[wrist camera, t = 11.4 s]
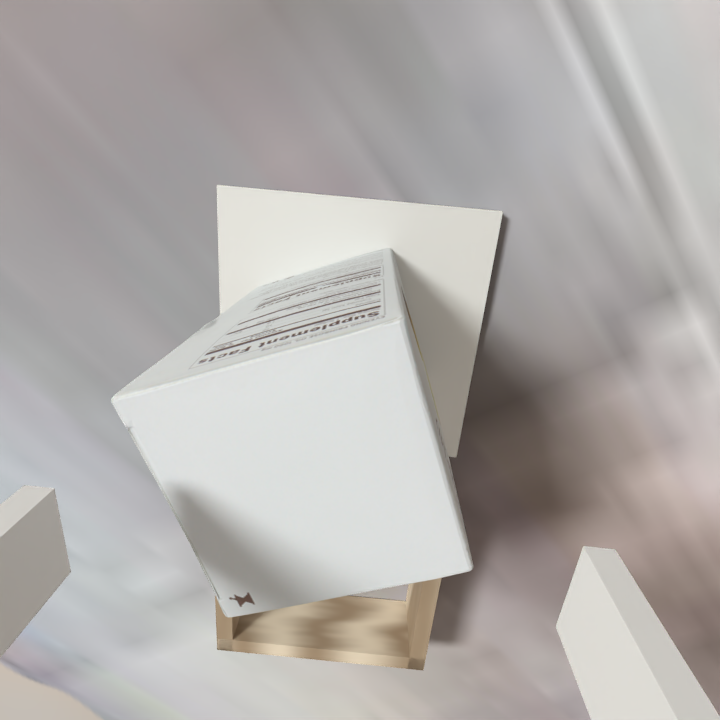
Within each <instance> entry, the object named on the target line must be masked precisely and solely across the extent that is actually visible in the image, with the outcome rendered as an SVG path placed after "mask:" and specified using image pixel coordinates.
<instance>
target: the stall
mask: <svg viewBox="0 0 720 720" xmlns="http://www.w3.org/2000/svg"><path fill="white" fill-rule="evenodd" d="M440 583H441V578H438V579H434V580H428V581H422V582H417V583H411V584H409V586H408V592H407V598H406V601H397V600H387V599H377V598H367V597H356V596H343V597H337V598H332V599H327V600H322V601H317V602H311V603H306V604H301V605H296V606H291V607H286V608H281V609H275V610H270V611H264V612H259V613H253V614H248V615H243V616H236V617H229V618H228V617H226V616H225V615H224V613H223V611H222V609H221V607H220V604H219V602H218V600H217V597H216V595H215V602H216V628H217V650H226V651H236V652H246V653H256V654H266V655H276V656H286V657H296V658H306V659H316V660H326V661H336V662H346V663H356V664H366V665H376V666H386V667H396V668H406V669H416V670H423V669H424V664H425V659H426V654H427V649H428V643H429V638H430V633H431V628H432V623H433V618H434V613H435V608H436V603H437V598H438V593H439V588H440Z"/></svg>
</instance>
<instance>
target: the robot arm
mask: <svg viewBox="0 0 720 720" xmlns="http://www.w3.org/2000/svg"><path fill="white" fill-rule="evenodd" d="M70 572H71V570H70V565H69V560H68V555H67V550H66V545H65V540H64V535H63V530H62V525H61V520H60V515H59V510H58V505H57V500H56V494H55V489H54V488H46V487H37V486H28V485H24V486H23V487H21V488H20V489H19V490H18V491H17V492H15V493H14V494H13V495H12V496H10V497H9V498H8V499H7V500H6V501H4V502H3V503H2V504H1V505H0V658H1V656H2V655H3V654H4V653H5V652H6V650H7V649H8V648H9V647H10V645H11V644H12V643H13V642H14V641H15V639H16V638H17V637H18V636H19V634H20V633H21V632H22V631H23V630H24V628H25V627H26V626H27V625H28V623H29V622H30V621H31V620H32V619H33V617H34V616H35V615H36V614H37V613H38V611H39V610H40V609H41V608H42V606H43V605H44V604H45V603H46V602H47V600H48V599H49V598H50V597H51V595H52V594H53V593H54V592H55V591H56V589H57V588H58V587H59V586H60V584H61V583H62V582H63V581H64V580H65V578H66V577H67V576H68V575H69V573H70ZM556 629H557V631H558V634H559V636H560V639H561V642H562V644H563V647H564V650H565V652H566V655H567V657H568V660H569V663H570V665H571V668H572V671H573V673H574V676H575V678H576V681H577V684H578V686H579V689H580V692H581V694H582V697H583V699H584V702H585V705H586V707H587V710H588V713H589V715H590V718H591V720H720V716H719V715H718V713H717V712H716V710H715V708H714V707H713V705H712V704H711V702H710V700H709V699H708V697H707V696H706V694H705V692H704V691H703V689H702V687H701V686H700V684H699V683H698V681H697V679H696V678H695V676H694V675H693V673H692V671H691V670H690V668H689V667H688V665H687V663H686V662H685V660H684V659H683V657H682V655H681V654H680V652H679V651H678V649H677V647H676V646H675V644H674V643H673V641H672V639H671V638H670V636H669V635H668V633H667V631H666V630H665V628H664V627H663V625H662V623H661V622H660V620H659V619H658V617H657V615H656V614H655V612H654V611H653V609H652V607H651V606H650V604H649V603H648V601H647V599H646V598H645V596H644V595H643V593H642V591H641V590H640V588H639V587H638V585H637V583H636V582H635V580H634V579H633V577H632V575H631V574H630V572H629V571H628V569H627V567H626V566H625V564H624V563H623V561H622V559H621V558H620V556H619V555H618V553H617V551H616V550H615V549H606V548H597V547H588V546H583V549H582V552H581V555H580V558H579V561H578V563H577V566H576V569H575V572H574V575H573V578H572V581H571V584H570V587H569V590H568V592H567V595H566V598H565V601H564V604H563V607H562V610H561V613H560V616H559V619H558V622H557V624H556Z"/></svg>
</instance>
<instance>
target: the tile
mask: <svg viewBox="0 0 720 720" xmlns="http://www.w3.org/2000/svg"><path fill="white" fill-rule="evenodd" d="M217 213H218V252H219V291H220V315H221V314H222V313H224V312H225V311H226V310H227V309H229V308H230V307H231V306H233V305H234V304H235V303H237V302H238V301H239V300H241V299H242V298H243V297H245V296H246V295H247V294H248V293H250V292H251V291H252V290H254V289H255V288H257V287H259V286H262V285H265V284H268V283H272V282H275V281H278V280H281V279H285V278H288V277H291V276H295V275H298V274H301V273H304V272H307V271H310V270H314V269H317V268H320V267H323V266H326V265H330V264H333V263H336V262H339V261H343V260H346V259H349V258H353V257H356V256H359V255H363V254H366V253H370V252H373V251H377V250H381V249H385V248H391V249H392V251H393V253H394V256H395V260H396V263H397V266H398V270H399V274H400V277H401V281H402V284H403V288H404V291H405V295H406V299H407V302H408V306H409V310H410V314H411V318H412V321H413V325H414V329H415V332H416V336H417V339H418V343H419V346H420V350H421V353H422V357H423V360H424V364H425V367H426V371H427V375H428V379H429V382H430V386H431V390H432V393H433V397H434V401H435V405H436V409H437V412H438V416H439V420H440V424H441V428H442V432H443V436H444V440H445V444H446V448H447V452H448V456H449V457H457V451H458V446H459V441H460V436H461V430H462V425H463V420H464V414H465V409H466V404H467V399H468V393H469V388H470V383H471V378H472V372H473V367H474V362H475V357H476V351H477V346H478V341H479V335H480V330H481V325H482V320H483V314H484V309H485V304H486V299H487V293H488V288H489V283H490V278H491V272H492V267H493V262H494V256H495V251H496V246H497V241H498V235H499V230H500V225H501V220H502V214H503V211H497V210H486V209H475V208H464V207H453V206H443V205H432V204H421V203H410V202H399V201H388V200H378V199H367V198H356V197H345V196H334V195H324V194H313V193H302V192H291V191H280V190H269V189H259V188H248V187H237V186H226V185H217Z"/></svg>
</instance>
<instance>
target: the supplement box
mask: <svg viewBox="0 0 720 720" xmlns="http://www.w3.org/2000/svg"><path fill="white" fill-rule="evenodd" d="M111 402H112V404H113V406H114V408H115V409H116V411H117V413H118V415H119V417H120V418H121V420H122V422H123V424H124V425H125V426H126V428H127V429H128V431H129V433H130V435H131V437H132V439H133V441H134V442H135V444H136V446H137V448H138V449H139V451H140V453H141V455H142V456H143V458H144V460H145V462H146V464H147V465H148V467H149V469H150V471H151V472H152V474H153V476H154V477H155V479H156V481H157V483H158V485H159V487H160V488H161V490H162V492H163V494H164V496H165V498H166V500H167V502H168V503H169V505H170V507H171V509H172V511H173V513H174V514H175V516H176V518H177V520H178V522H179V524H180V526H181V527H182V529H183V531H184V533H185V535H186V537H187V539H188V541H189V542H190V544H191V546H192V548H193V550H194V552H195V554H196V556H197V558H198V560H199V563H200V565H201V567H202V569H203V571H204V573H205V575H206V577H207V579H208V581H209V583H210V585H211V587H212V589H213V591H214V593H215V595H216V597H217V600H218V602H219V604H220V607H221V609H222V611H223V613H224V615H225V616H226V617H228V618H229V617H236V616H243V615H248V614H253V613H259V612H264V611H270V610H275V609H281V608H286V607H291V606H296V605H301V604H306V603H311V602H317V601H322V600H327V599H332V598H337V597H343V596H348V595H353V594H358V593H363V592H369V591H374V590H379V589H384V588H390V587H395V586H400V585H406V584H411V583H417V582H422V581H428V580H434V579H438V578H443V577H447V576H451V575H456V574H460V573H465V572H469V571H471V570H472V569H473V567H474V566H473V562H472V557H471V553H470V548H469V544H468V539H467V535H466V530H465V525H464V521H463V517H462V512H461V508H460V504H459V499H458V495H457V491H456V486H455V482H454V478H453V473H452V469H451V465H450V460H449V456H448V452H447V448H446V444H445V440H444V436H443V432H442V428H441V424H440V420H439V416H438V412H437V409H436V405H435V401H434V397H433V393H432V390H431V386H430V382H429V379H428V375H427V371H426V367H425V364H424V360H423V357H422V353H421V350H420V346H419V343H418V339H417V336H416V332H415V329H414V325H413V321H412V318H411V314H410V310H409V306H408V302H407V299H406V295H405V291H404V288H403V284H402V281H401V277H400V274H399V270H398V266H397V263H396V260H395V256H394V253H393V251H392V249H391V248H385V249H381V250H377V251H373V252H370V253H366V254H363V255H359V256H356V257H353V258H349V259H346V260H343V261H339V262H336V263H333V264H330V265H326V266H323V267H320V268H317V269H314V270H310V271H307V272H304V273H301V274H298V275H295V276H291V277H288V278H285V279H281V280H278V281H275V282H272V283H268V284H265V285H262V286H259V287H257V288H255V289H254V290H252V291H251V292H250V293H248V294H247V295H246V296H245V297H243V298H242V299H241V300H239V301H238V302H237V303H235V304H234V305H233V306H231V307H230V308H229V309H227V310H226V311H225V312H224V313H222V314H221V315H220V316H219V317H217V318H216V319H215V320H213V321H211V322H209V323H207V324H206V325H205V326H203V327H202V328H201V329H200V330H199V331H197V332H196V333H195V334H193V335H192V336H191V337H190V338H189V339H187V340H186V341H185V342H184V343H182V344H181V345H180V346H178V347H177V348H176V349H174V350H173V351H172V352H170V353H169V354H168V355H167V356H165V357H164V358H163V359H161V360H160V361H159V362H157V363H156V364H155V365H153V366H152V367H151V368H149V369H148V370H146V371H145V372H144V373H142V374H141V375H140V376H138V377H137V378H136V379H135V380H133V381H132V382H131V383H129V384H128V385H127V386H125V387H124V388H123V389H121V390H120V391H119V392H118V393H117V394H115V395H114V396H113V397H112V399H111Z"/></svg>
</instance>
